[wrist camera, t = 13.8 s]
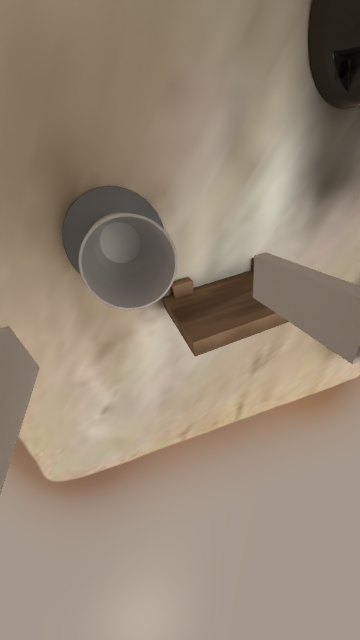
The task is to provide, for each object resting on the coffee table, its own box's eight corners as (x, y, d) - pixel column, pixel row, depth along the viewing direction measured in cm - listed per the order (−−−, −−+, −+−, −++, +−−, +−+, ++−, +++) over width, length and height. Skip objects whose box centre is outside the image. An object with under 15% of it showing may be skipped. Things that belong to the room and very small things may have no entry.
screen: (160, 285, 31) (190, 327, 22) (276, 251, 35) (345, 274, 25) (167, 319, 35) (196, 368, 25) (272, 284, 39) (333, 316, 29)
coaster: (42, 198, 22) (41, 198, 22) (153, 177, 25) (154, 177, 24) (88, 299, 29) (87, 301, 28) (171, 275, 31) (173, 276, 31)
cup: (139, 283, 30) (156, 318, 21) (75, 261, 26) (66, 295, 18) (162, 225, 27) (192, 240, 19) (95, 190, 23) (96, 191, 15)
